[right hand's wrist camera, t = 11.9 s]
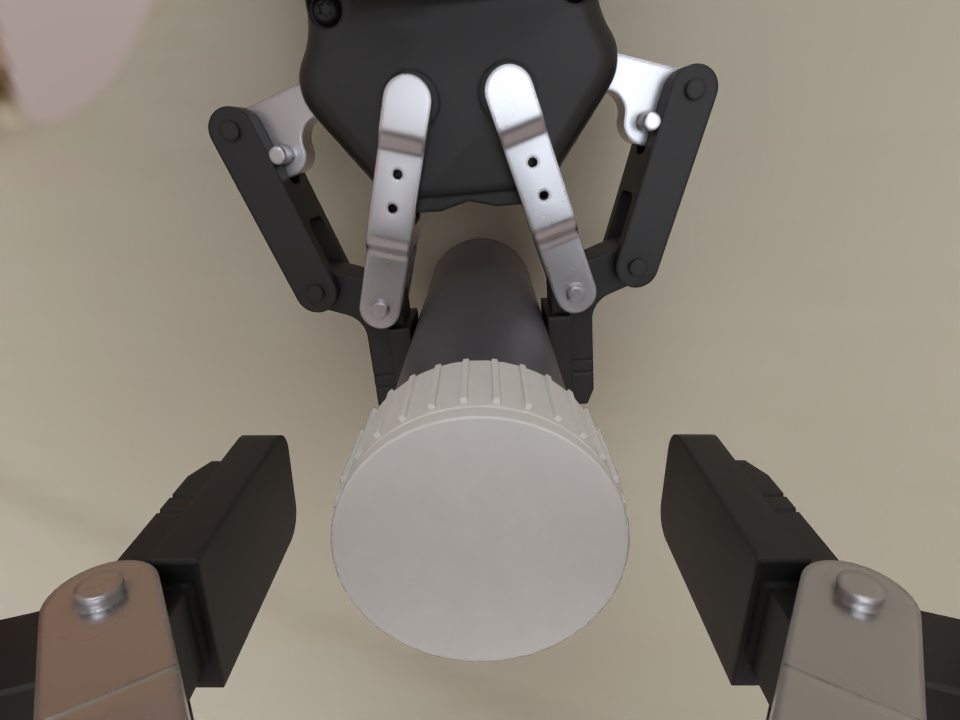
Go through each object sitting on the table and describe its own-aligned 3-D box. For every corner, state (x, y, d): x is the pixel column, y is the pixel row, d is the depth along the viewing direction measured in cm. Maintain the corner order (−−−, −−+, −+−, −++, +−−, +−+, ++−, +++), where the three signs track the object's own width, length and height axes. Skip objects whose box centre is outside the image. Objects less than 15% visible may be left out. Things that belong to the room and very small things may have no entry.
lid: (472, 611, 13) (470, 707, 11) (301, 464, 12) (261, 540, 9) (657, 481, 12) (695, 560, 10) (490, 300, 10) (492, 345, 8)
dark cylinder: (477, 352, 26) (471, 664, 11) (411, 284, 25) (302, 524, 10) (550, 291, 25) (655, 541, 10) (484, 217, 24) (490, 370, 9)
